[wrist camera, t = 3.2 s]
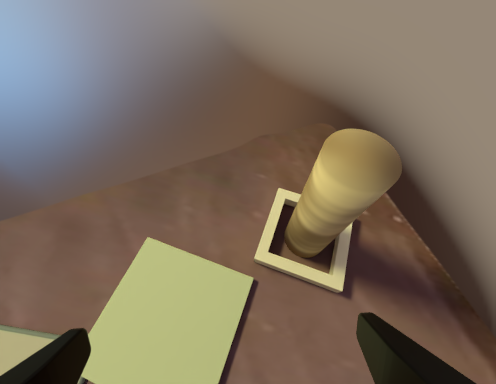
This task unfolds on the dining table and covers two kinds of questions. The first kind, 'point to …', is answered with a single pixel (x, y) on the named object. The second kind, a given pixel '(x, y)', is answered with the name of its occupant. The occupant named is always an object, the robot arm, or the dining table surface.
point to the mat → (167, 320)
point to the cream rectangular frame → (295, 269)
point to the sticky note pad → (22, 346)
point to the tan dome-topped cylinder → (341, 188)
